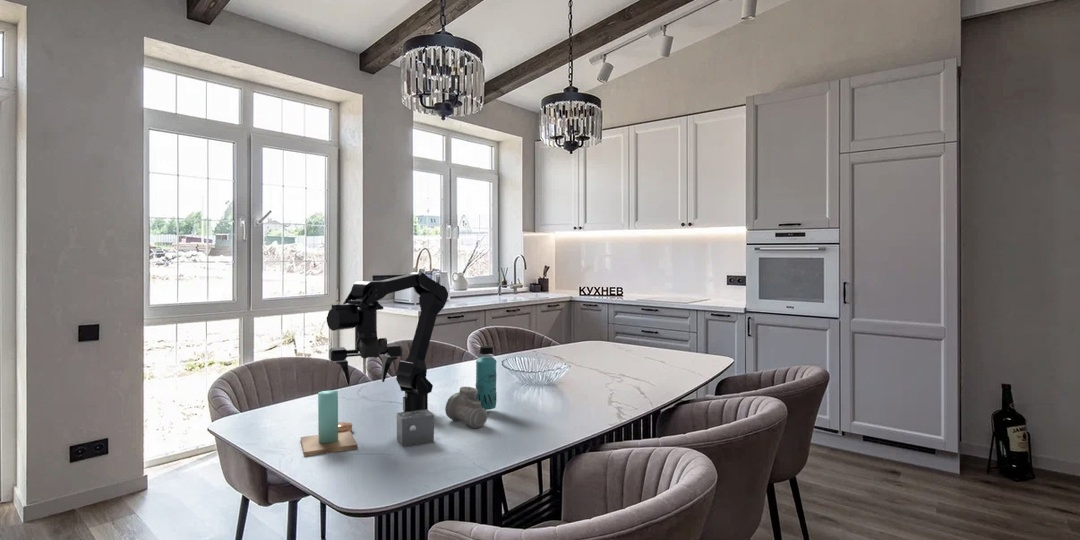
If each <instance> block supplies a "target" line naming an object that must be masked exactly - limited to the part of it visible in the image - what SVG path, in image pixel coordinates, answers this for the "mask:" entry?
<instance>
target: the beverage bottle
mask: <svg viewBox="0 0 1080 540" xmlns="http://www.w3.org/2000/svg"><path fill="white" fill-rule="evenodd" d="M479 354H480V355H487V356H480V357H478V358H477V360H475V367H476V368H475V384H474V385H475V389H477V390H478V392H477V395H476V399H477V400H479V401H480V402H481V407H483V408H484V409H485V410H486V411H488V410H493V409H495V408H496V407H497V394H498V393H497V377H498V376H497V375H498V373H497V360H496V358H494V356H488V355H492V354H493V355H494V347H493V346H492V345H483V346H480V347H479Z"/></svg>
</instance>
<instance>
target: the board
mask: <svg viewBox="0 0 1080 540" xmlns="http://www.w3.org/2000/svg"><path fill="white" fill-rule="evenodd" d="M300 444H301V448H302V453H303V456H304V457H310V456H314V455H315V456H316V455H322V454H329V453H335V452H336V453H337V452H344V451H349V450H355V449H358V443H357V441H356V439H355V438H354V435H353V432H350V431H343V432H338V441H336V442H333V443H319V434H314V435H306V436H300Z"/></svg>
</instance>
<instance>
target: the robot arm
mask: <svg viewBox="0 0 1080 540" xmlns="http://www.w3.org/2000/svg"><path fill="white" fill-rule="evenodd" d="M411 288H413V290H414V292H415V294H417V295H418V296H419V300H418V303H419V307H420V315H419V317H418V321H417V325H416V329H415V333H414V336H413V339H412V342H411V347H410V351H409V353H408V357H407V358H406V359H405V360H400V361H399V362H398V366H397V370H396V372H395V375H396V378H395V379H396V380H395V381H396V382H397V384H398V386H399V389H400V391H401V392H404V396H403V397H402V412H409V411H417V410H425V409H428V408H429V407H428V405H429V403H428V402H429V397H428V396H429V395H428V394H429V393H430V394H431V393H432V390H433V387H434V385H433V384H432V383H431V382H430V381H429V379H427V366H426V365H427V364H426V356H427V352H428V349H429V345H430V342H431V339H432V336H433V335H432V334H433V331H434V328H435V324H436V320H437V316H438V315H439V313H441V311H442V310H443V309H444V307H445V305H446V304H447V301H448V298H449V291H448V290H447V288H446V287H445V286H444V285H441V284H440V282H437V281H436V280H434V279H432V278H430V277H429V276H428V275H427V274H426V273H424V272H422V271H421V272H420V271H419V272H418V271H417V272H416V271H415V272H413V271H412V272H410V273H407V274H403V275H399V276H394V277H391V278H387V279H382V280H359V281H356V282H354V283H353V285H352V286H351V289H350V291H349V293H348V295H347V297H346V298H345V299H344V302H342V304H339V303H338V304H337V303H336V304H335V303H333V304H331V309H330V310H329V311H328V313H327V316H326V324H327V327H328V328H329V329H330V330H331V331H342V330H350V329H354V349H347V348H346V347H343V346H342V347H341V346H340V347H331V348H330V349H329V350H328V359H329V360H330V361H331V362H334V363H335V364H336V365H339V366H340V368H341V370H342V373H343V376H344V379H345V381H346V384H347V386H350V381H351V380H350V372H349V362H348V360H347V358H348V357H349V358H350V357H351V358H352V357H361V358H362V359H368V358H375V359H376V358H379V357H380V356H381V355H382V364H381V366H382V367H381V382H382V383H384V382H385V381H386V378H387V374H388V372H389V369H390V366H391V364H392V363H393V362H394V360H396V361H397V360H398V357H403V348H402V346H401V345H399V344H398V343H389V344H388V339H387V338H386V337H380V338H378V329H377V328H378V327H377V326H378V325H377V324H378V323H377V321H378V317H377V316H378V315H377V314H378V312H377V311H379V310H381V311H382V310H384V306H383V305H382V304H380V302H379V301H380V300H382V299H384V298H385V297H386V296H387V295H389V294H392V293H396V292H399V291H403V290H407V289H411ZM428 410H429V409H428Z"/></svg>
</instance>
